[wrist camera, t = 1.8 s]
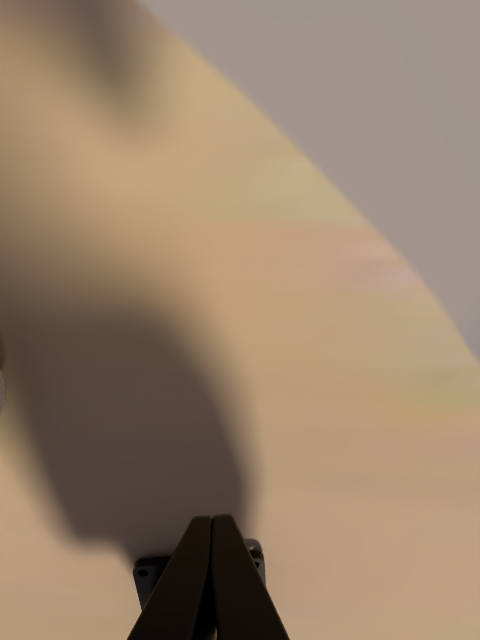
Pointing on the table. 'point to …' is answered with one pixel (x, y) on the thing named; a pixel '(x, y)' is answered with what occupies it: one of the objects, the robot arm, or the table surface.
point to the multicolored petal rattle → (2, 391)
